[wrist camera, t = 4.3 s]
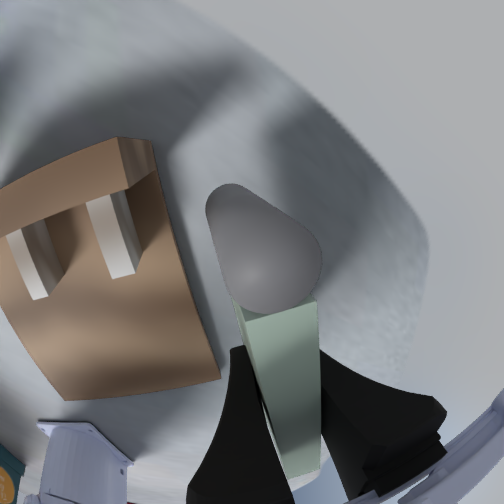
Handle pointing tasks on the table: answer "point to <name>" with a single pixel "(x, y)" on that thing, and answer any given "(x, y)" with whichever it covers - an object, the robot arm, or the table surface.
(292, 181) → the table surface
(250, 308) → the green piece
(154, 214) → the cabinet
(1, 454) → the donation box
